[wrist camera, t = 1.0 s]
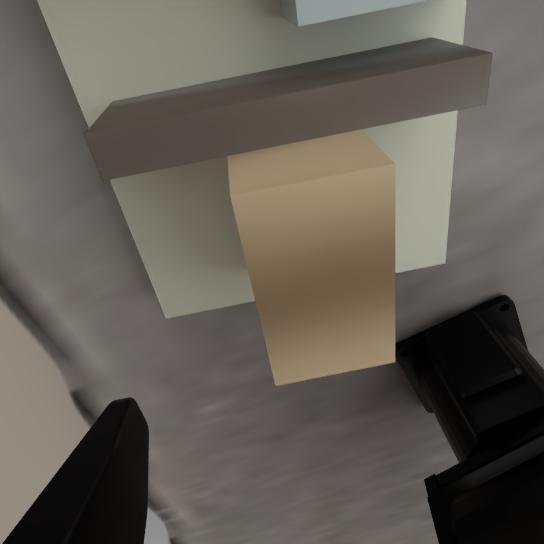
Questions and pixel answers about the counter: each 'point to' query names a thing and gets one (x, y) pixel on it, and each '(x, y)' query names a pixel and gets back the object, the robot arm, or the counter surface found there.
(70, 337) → the counter surface
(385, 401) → the counter surface
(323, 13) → the tile
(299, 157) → the scraper
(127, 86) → the board
